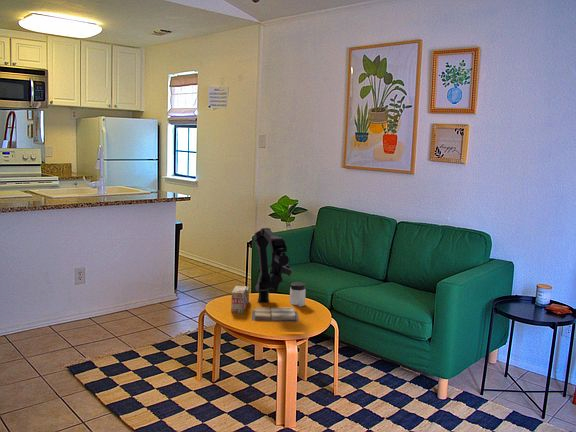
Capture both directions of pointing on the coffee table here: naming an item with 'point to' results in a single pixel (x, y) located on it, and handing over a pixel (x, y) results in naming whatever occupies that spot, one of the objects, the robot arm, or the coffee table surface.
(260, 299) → the robot arm
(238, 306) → the stack of blocks
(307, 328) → the coffee table surface
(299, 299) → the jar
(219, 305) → the coffee table surface
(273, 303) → the coffee table surface
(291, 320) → the underlay mat
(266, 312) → the oak board
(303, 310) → the coffee table surface
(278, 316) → the ash plank
